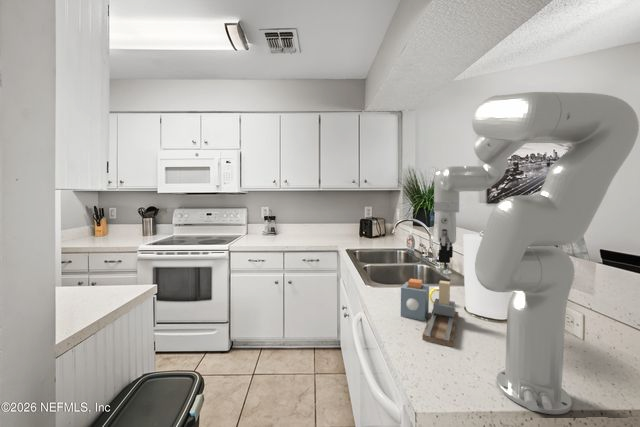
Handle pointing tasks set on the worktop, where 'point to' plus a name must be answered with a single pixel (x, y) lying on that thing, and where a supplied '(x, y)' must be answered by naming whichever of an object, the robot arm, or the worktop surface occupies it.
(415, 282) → the button
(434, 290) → the watch
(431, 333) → the rail board
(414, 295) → the end cabinet
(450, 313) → the carriage
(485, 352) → the worktop surface
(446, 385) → the worktop surface
